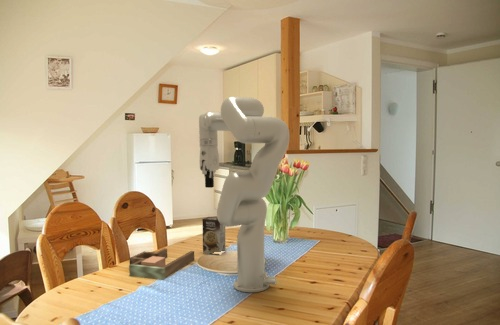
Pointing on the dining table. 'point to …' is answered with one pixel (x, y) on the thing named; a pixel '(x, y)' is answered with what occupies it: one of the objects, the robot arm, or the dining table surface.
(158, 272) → the channel
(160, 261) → the block
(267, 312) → the dining table surface
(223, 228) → the coffee box
